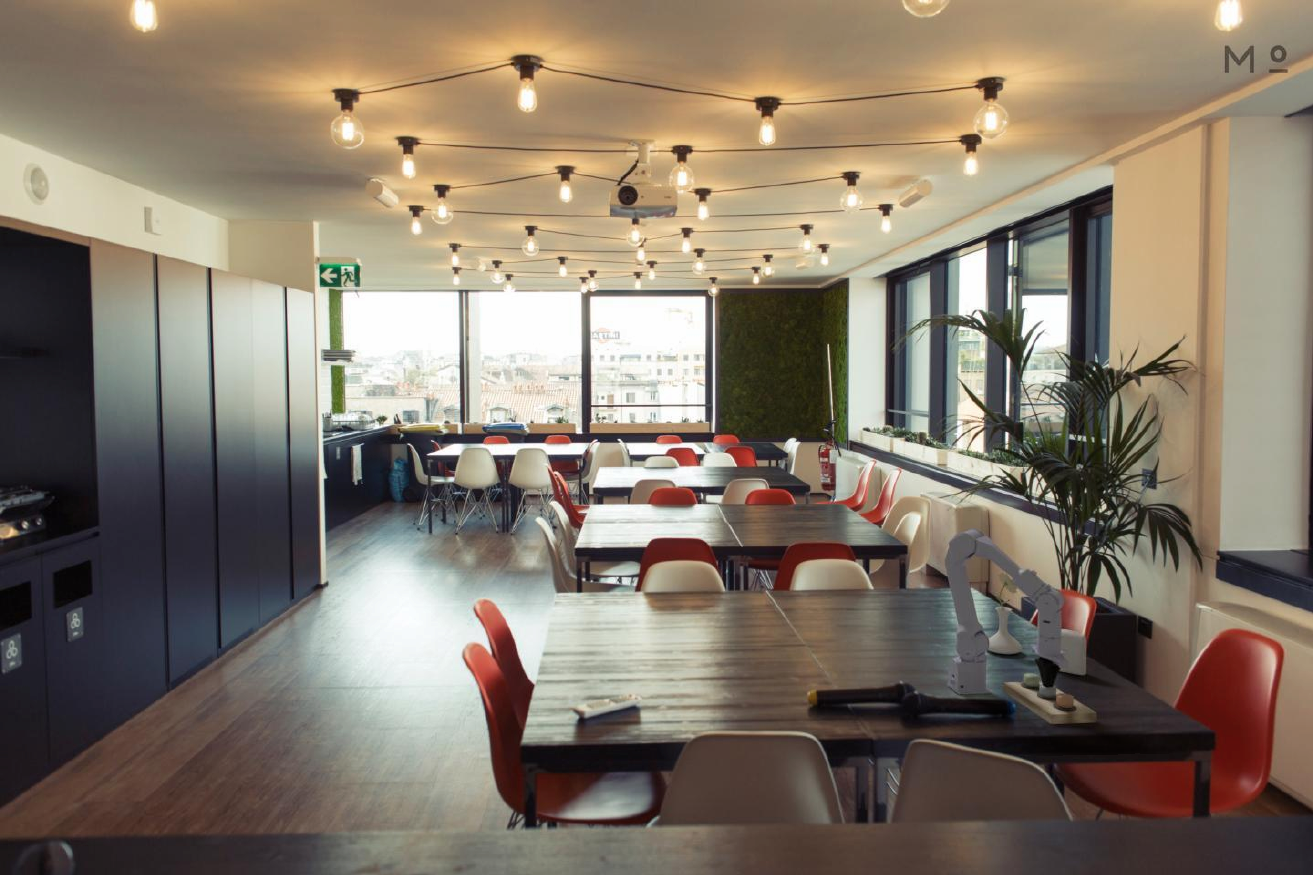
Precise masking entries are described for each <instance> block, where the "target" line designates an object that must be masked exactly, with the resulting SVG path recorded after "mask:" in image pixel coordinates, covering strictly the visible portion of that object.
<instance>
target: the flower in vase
mask: <svg viewBox="0 0 1313 875" xmlns="http://www.w3.org/2000/svg"><path fill="white" fill-rule="evenodd" d="M997 576H998V580H999V581H1000V582H1001V584H1002V587H1001V589H1000V592H999V595H998V594H997V595H996V598H995V599H997V600H998V601H999V602H1000V604H1001V606H997V607H995V610H996V612H997V614H998V619H999V627H998V631H997V632H996V633H995V634H993V635H992V636H991V637H988V638H989V642H990V645H989V648H988V650H987V651H990V652H992V653H996V654H1001V655H1013V654H1014V655H1015V654H1018V653H1021V652H1022V650H1023V647H1022V644H1021V643H1020V642H1019V641H1018V640H1017V639H1016V638H1014V637H1013V636H1012V635H1011V634H1010V633H1009V630H1008V621H1009V615H1010V614H1011V612H1012V611H1013V608H1010V607H1006V606H1004V604H1005V603H1007V602H1010V601H1011V600H1010V599H1007V600H1006V601H1002V598H1001V596H1002V592H1003V589H1004V588H1005V589H1006V591H1008V592H1010V593H1011V594H1017V593H1018V592H1017V589H1018V588H1017V587H1016V586H1015V585H1014V584H1013V579H1012V578H1011V576H1010V575H1009V574H1007V573H1006V572H1004V571H1003V570H1001V571H1000V572H998V573H997Z"/></svg>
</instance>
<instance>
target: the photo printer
mask: <svg viewBox="0 0 1313 875" xmlns="http://www.w3.org/2000/svg"><path fill="white" fill-rule="evenodd" d="M1061 651H1063V652H1064V653H1065V655H1063V656H1064V658H1065V659H1066V660H1068V668H1061V669H1060V670H1059V672H1062V673H1068V674H1073V675H1079V676H1085V675H1086V673H1087V672H1086V671H1087V637H1086V635H1085V634H1083V633H1080V632H1077V631H1075V630H1071V629H1067V628H1066V629H1065V628H1061Z"/></svg>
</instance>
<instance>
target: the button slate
mask: <svg viewBox="0 0 1313 875" xmlns="http://www.w3.org/2000/svg"><path fill="white" fill-rule="evenodd" d="M1056 688H1057V686H1056V685H1054V686H1053V687H1044V686H1043V684H1040V690H1039V695H1040V696H1042V697H1046V698H1055V697H1056Z"/></svg>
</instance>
